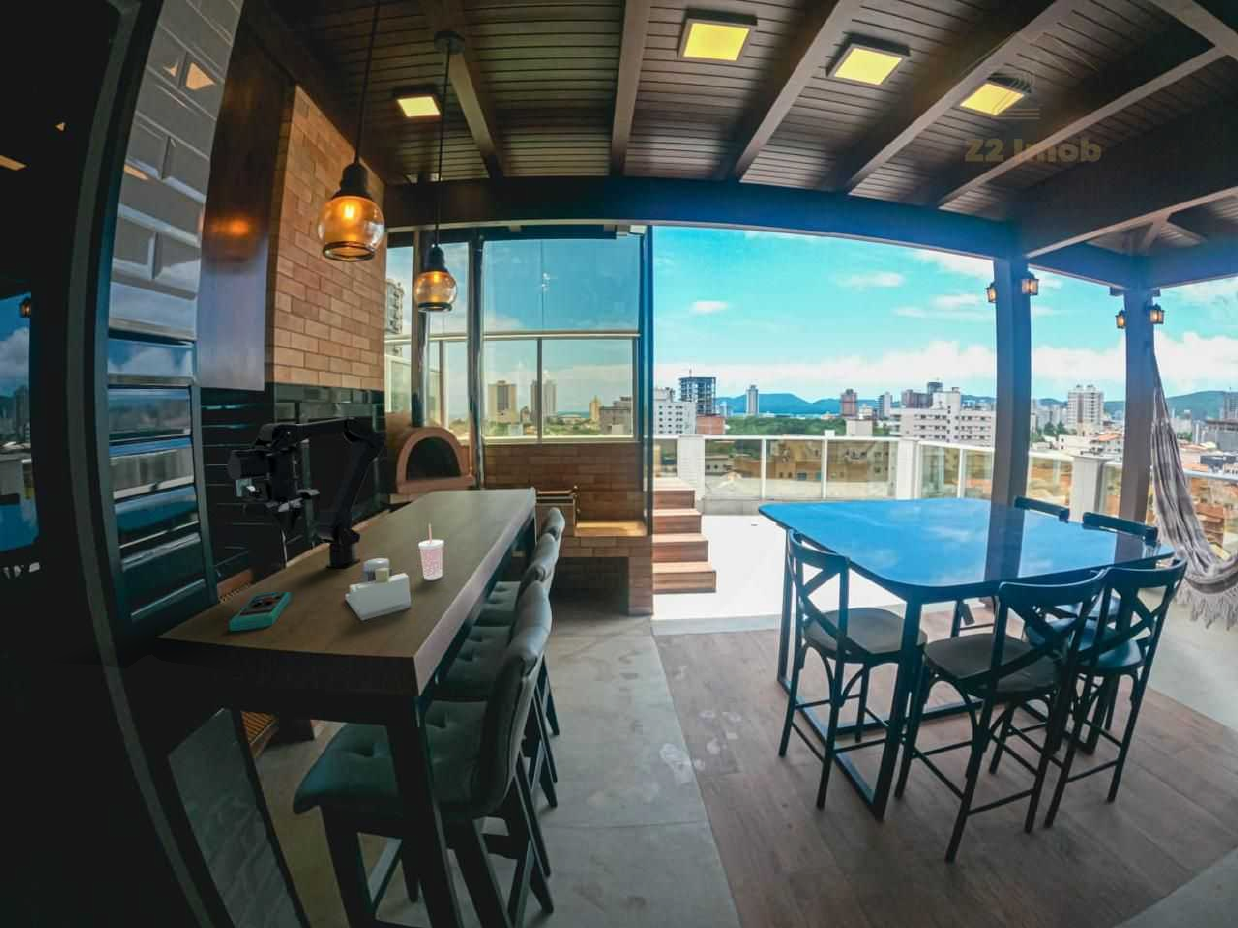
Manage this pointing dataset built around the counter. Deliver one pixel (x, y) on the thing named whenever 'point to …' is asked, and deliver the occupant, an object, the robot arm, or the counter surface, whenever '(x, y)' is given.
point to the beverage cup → (432, 557)
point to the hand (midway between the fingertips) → (287, 535)
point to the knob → (374, 568)
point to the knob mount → (380, 595)
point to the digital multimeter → (260, 611)
